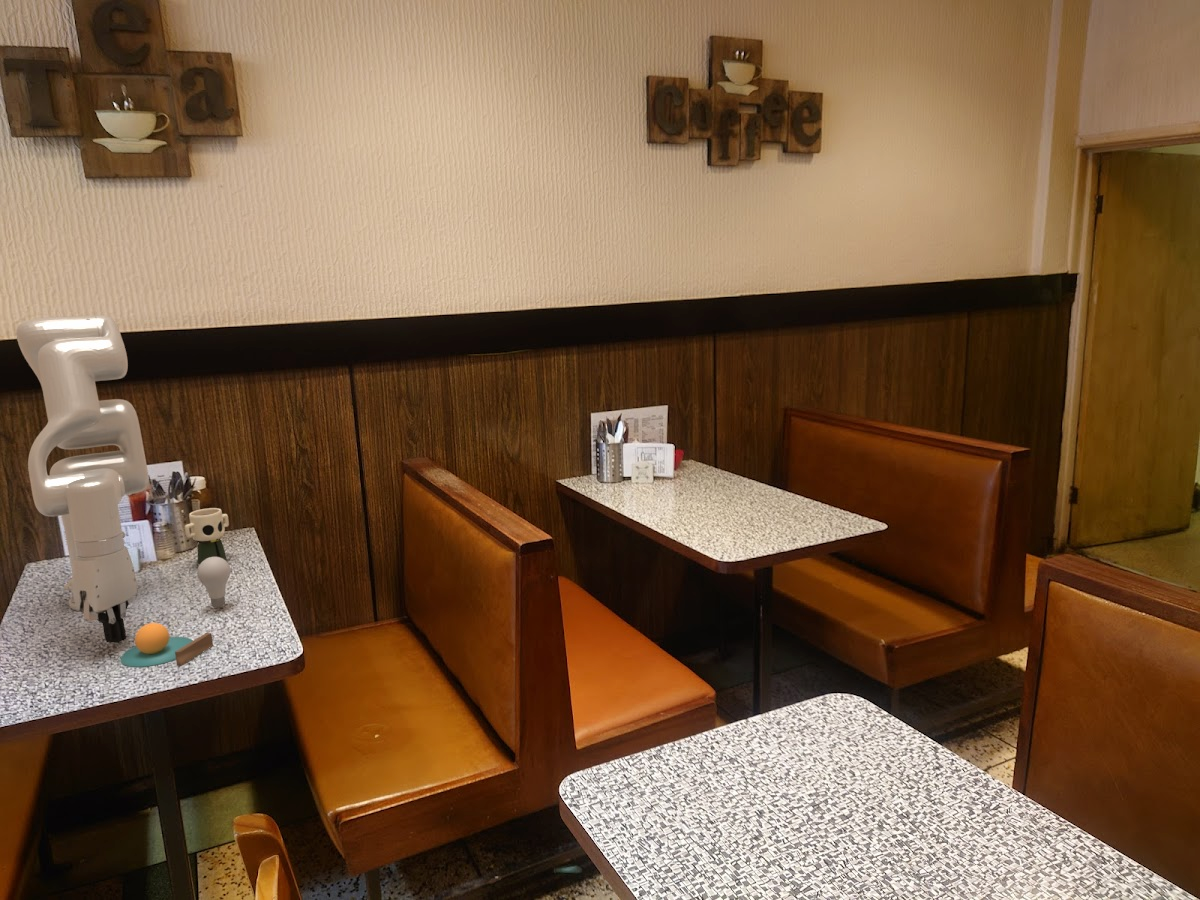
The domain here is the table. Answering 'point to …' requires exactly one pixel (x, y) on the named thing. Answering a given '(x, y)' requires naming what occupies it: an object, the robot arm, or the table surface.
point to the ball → (152, 638)
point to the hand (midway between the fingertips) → (116, 640)
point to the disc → (144, 660)
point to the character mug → (208, 532)
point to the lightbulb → (214, 579)
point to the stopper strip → (193, 649)
